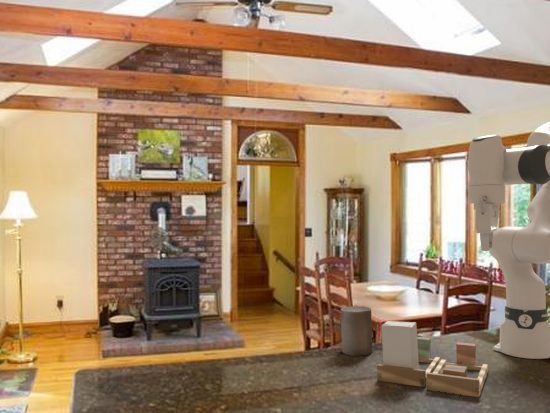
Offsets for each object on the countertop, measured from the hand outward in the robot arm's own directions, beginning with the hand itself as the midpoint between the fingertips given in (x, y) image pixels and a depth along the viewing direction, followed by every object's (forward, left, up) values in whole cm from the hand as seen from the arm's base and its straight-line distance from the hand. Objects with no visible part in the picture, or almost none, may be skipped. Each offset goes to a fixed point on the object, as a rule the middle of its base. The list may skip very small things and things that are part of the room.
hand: (487, 249), depth 140 cm
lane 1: (-1, -20, -34) cm, 39 cm away
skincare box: (+9, -21, -34) cm, 41 cm away
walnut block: (+10, -7, -34) cm, 36 cm away
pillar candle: (-12, -40, -34) cm, 54 cm away
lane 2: (+1, -7, -34) cm, 35 cm away
